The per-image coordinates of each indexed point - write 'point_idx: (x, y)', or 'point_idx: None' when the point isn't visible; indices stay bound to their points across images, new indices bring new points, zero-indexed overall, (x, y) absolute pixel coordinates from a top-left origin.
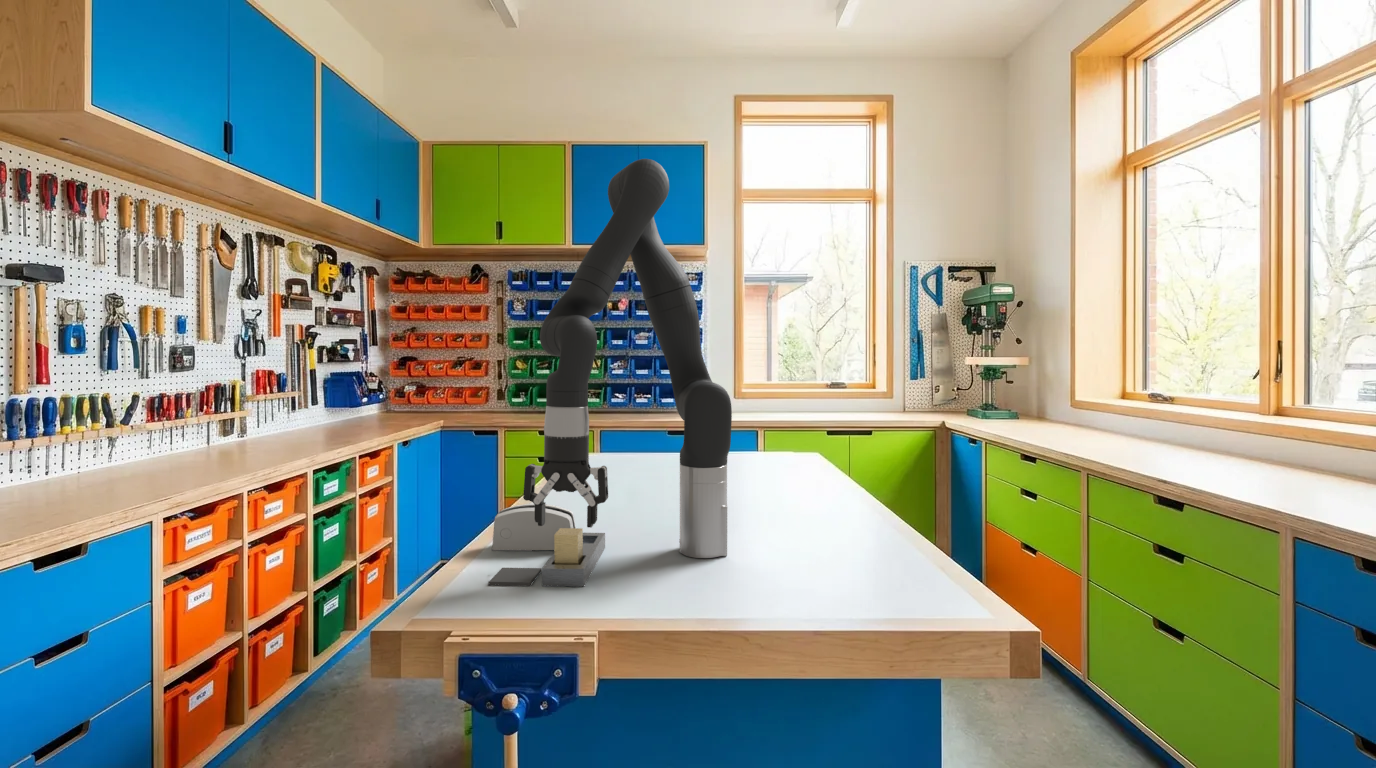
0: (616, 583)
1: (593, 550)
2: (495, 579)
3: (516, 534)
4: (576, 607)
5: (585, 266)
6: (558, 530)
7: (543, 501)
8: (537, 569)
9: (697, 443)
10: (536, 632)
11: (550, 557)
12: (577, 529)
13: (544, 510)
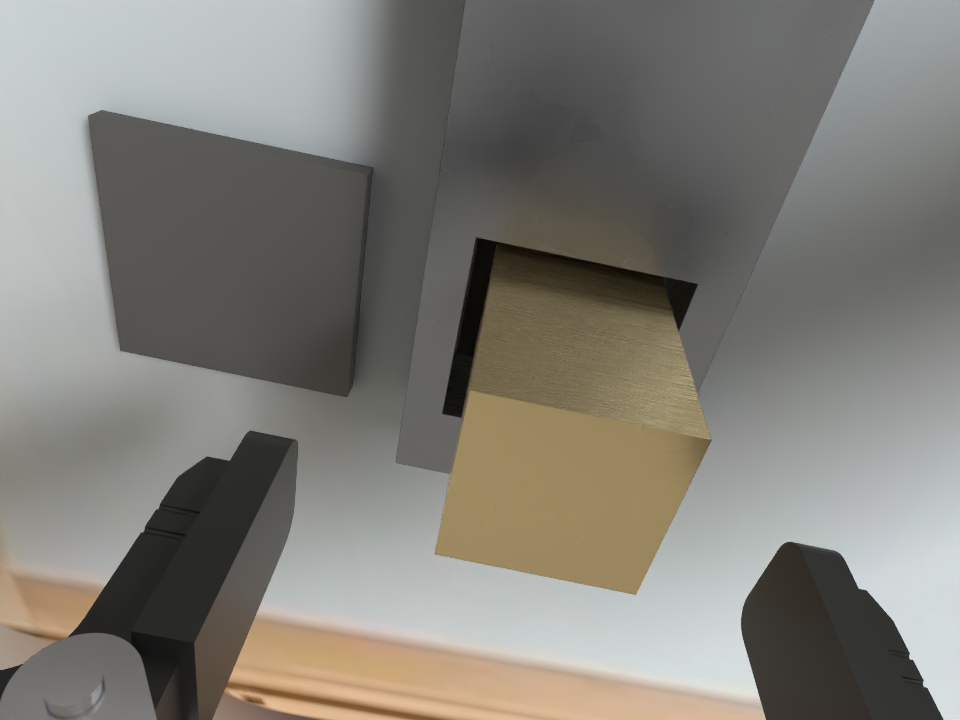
0: (817, 430)
1: (787, 165)
2: (142, 324)
3: None
4: (580, 608)
5: None
6: (460, 456)
7: (167, 695)
8: (345, 199)
9: None
10: (450, 711)
11: (422, 285)
12: (652, 462)
13: (239, 577)
